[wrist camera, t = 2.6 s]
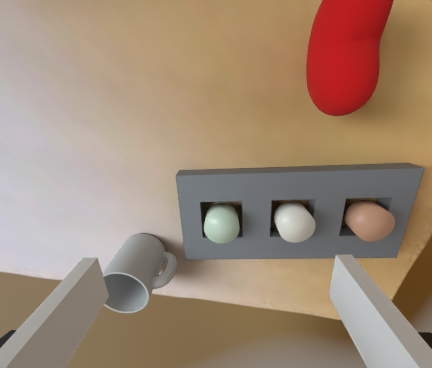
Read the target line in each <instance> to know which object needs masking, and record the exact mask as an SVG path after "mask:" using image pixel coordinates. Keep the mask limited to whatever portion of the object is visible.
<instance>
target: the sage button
mask: <svg viewBox="0 0 432 368" xmlns="http://www.w3.org/2000/svg"><path fill="white" fill-rule="evenodd" d="M204 232H205V234H206V236H207V237H208V238H209V239H210V240H211V241H213V242H215V243H220V244H224V243H229V242H231V241H233V240H234V239H235V238H236V237H237V235H238V233H239V220H238V214H237V211H236V210H235V208H234V207H232V206H231V205H229V204H226V203H218V204H215V205H213V206H211V207H210V208H209V209H208V211H207V213H206V218H205V224H204Z"/></svg>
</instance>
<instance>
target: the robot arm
mask: <svg viewBox="0 0 432 368" xmlns="http://www.w3.org/2000/svg"><path fill="white" fill-rule="evenodd" d="M108 297H109V294H108V291H107V288H106V285H105V281H104V278H103V275H102V271H101V268H100V265H99V261H98V258H83V259H82V260H81V261H80V263H79V264H78V265H77V266H76V267H75V268H74V269H73V270H72V271H71V272H70V273H69V274H68V275H67V277H66V278H65V279H64V280H63V281H62V282H61V283H60V284H59V285H58V286H57V287H56V289H55V290H54V291H53V292H52V293H51V294H50V295H49V296H48V297H47V298H46V299H45V300H44V301H43V303H42V304H41V305H40V306H39V307H38V308H37V309H36V310H35V311H34V312H33V313H32V314H31V316H30V317H29V318H28V319H27V320H26V321H25V322H24V323H23V324H22V325H21V326H20V328H18V330H11V331H9V332H8V333H7V334H5V335H4V336H3V337H2V338H0V368H66V366H67V364H68V363H69V361H70V360H71V358H72V356H73V355H74V353H75V351H76V350H77V348H78V346H79V345H80V343H81V341H82V340H83V338H84V336H85V335H86V333H87V332H88V330H89V328H90V327H91V325H92V323H93V322H94V320H95V318H96V317H97V315H98V313H99V312H100V310H101V309H102V307H103V305H104V304H105V302H106V300H107V299H108ZM329 297H330V299H331V301H332V303H333V305H334V307H335V308H336V310H337V312H338V314H339V316H340V318H341V319H342V321H343V323H344V325H345V327H346V329H347V330H348V332H349V334H350V336H351V338H352V340H353V342H354V343H355V345H356V347H357V349H358V351H359V353H360V355H361V356H362V358H363V360H364V362H365V364H366V366H367V368H432V333H427V332H426V333H425V332H424V333H421V332H419V333H418V332H417V331H416V330H415V329H414V328H413V327H412V325H411V324H410V323H409V322H408V321H407V319H406V318H405V317H404V316H403V315H402V313H401V312H400V311H399V310H398V309H397V308H396V306H395V305H394V304H393V303H392V302H391V300H390V299H389V298H388V297H387V296H386V295H385V293H384V292H383V291H382V290H381V289H380V287H379V286H378V285H377V284H376V283H375V281H374V280H373V279H372V278H371V277H370V276H369V274H368V273H367V272H366V271H365V270H364V268H363V267H362V266H361V265H360V264H359V263H358V261H357V260H356V259H355V258H354V257H353V255H352V254H349V255H336V258H335V263H334V269H333V274H332V280H331V285H330V291H329Z"/></svg>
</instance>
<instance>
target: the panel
mask: <svg viewBox="0 0 432 368" xmlns="http://www.w3.org/2000/svg"><path fill="white" fill-rule="evenodd" d="M423 172H424V168H423V167H420V166H417V165H413V164H410V163H392V164H361V165H330V166H299V167H268V168H237V169H207V170H179V172H178V173H177V175H176V183H177V192H178V200H179V208H180V217H181V225H182V234H183V242H184V250H185V259H186V260H198V259H308V258H336V255H349V254H352V255H353V257H354V258H397V255H398V251H399V248H400V245H401V242H402V239H403V236H404V232H405V229H406V226H407V223H408V220H409V216H410V213H411V210H412V207H413V204H414V200H415V197H416V194H417V191H418V188H419V184H420V181H421V178H422V175H423ZM347 198H377V202H376V204H378V205H379V206H381V207H382V208H384V209H385V210H387V211H388V212H390V213H391V214H392V215H393V216H394V219H395V226H394V228H393V230H392V232H391V233H390V234H389V235H388V236H386V237H385V238H383V239H381V240H378V241H374V242H369V241H364V240H362V239H360V238H359V237H358V236H357V235H356V234H355V233H354V232H353V231H352V230H351V229H350V228H349V227H348V226H344V227H341V223H342V218H343V212H344V207H345V202H346V199H347ZM306 199H308V206H307V211H308V212H309V213H310V215H311V216H312V217H313V219H314V220H315V225H316V226H315V230H314V233H313V234H312V235H311V236H310V237H309V238H308V239H307V240H305V241H302V242H298V243H293V242H288V241H286V240H284V239H283V238H282V237H281V235H280V234H279V231H278V229H277V228H270V222H271V202H272V200H306ZM222 201H241V228H239V233H238V235H237V237H236V238H235V239H234V240H233V241H231V242H229V243H224V244H220V243H215V242H213V241H211V240H210V239H209V238H208V237H207V236H206V234H205V232H204V219H203V206H202V202H222Z"/></svg>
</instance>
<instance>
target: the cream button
mask: <svg viewBox="0 0 432 368" xmlns="http://www.w3.org/2000/svg"><path fill="white" fill-rule="evenodd" d="M274 222H275V224H276V226H277V229H278V231H279V234H280V235H281V237H282V238H283V239H284V240H286V241H288V242H293V243H298V242H302V241H305V240H307V239H308V238H309V237H310V236H311V235H312V234H313V233H314V230H315V226H316V225H315V220H314V219H313V217H312V216H311V215H310V213H309V212H308V211H307V209H306V208H305V207H304V206H303V205H302V204H301V203H298V202H294V201H290V202H286V203H283V204H282V205H280V206H279V207H278V208H277V209H276V211H275V213H274Z"/></svg>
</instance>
